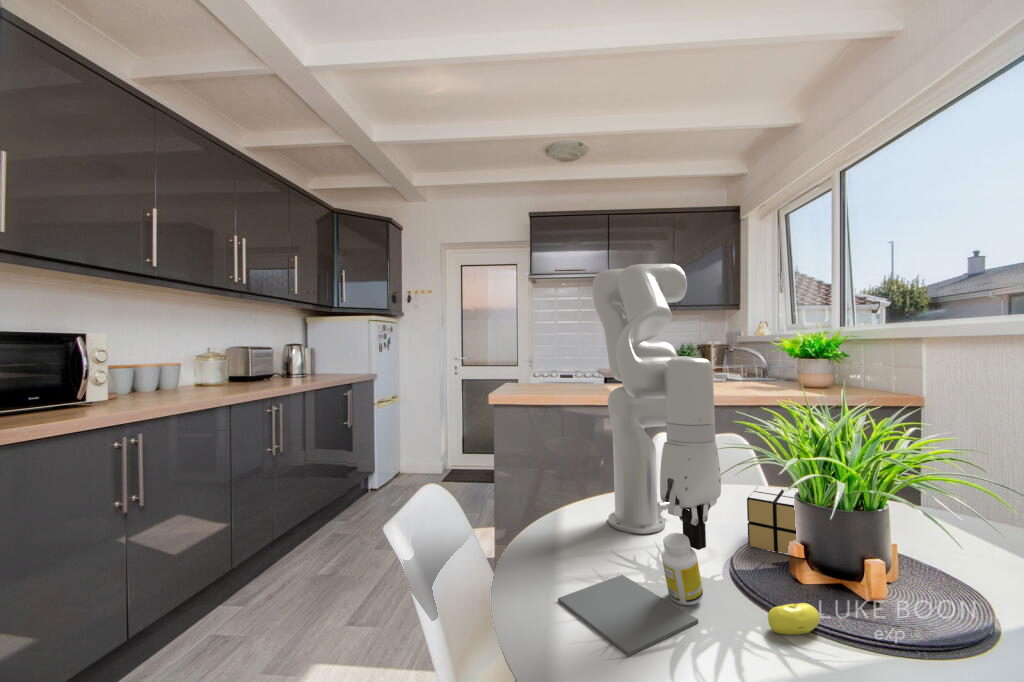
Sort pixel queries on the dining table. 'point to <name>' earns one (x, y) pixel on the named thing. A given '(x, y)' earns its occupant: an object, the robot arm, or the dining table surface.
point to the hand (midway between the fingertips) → (694, 545)
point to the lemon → (793, 618)
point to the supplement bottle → (681, 570)
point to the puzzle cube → (771, 519)
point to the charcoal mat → (627, 613)
